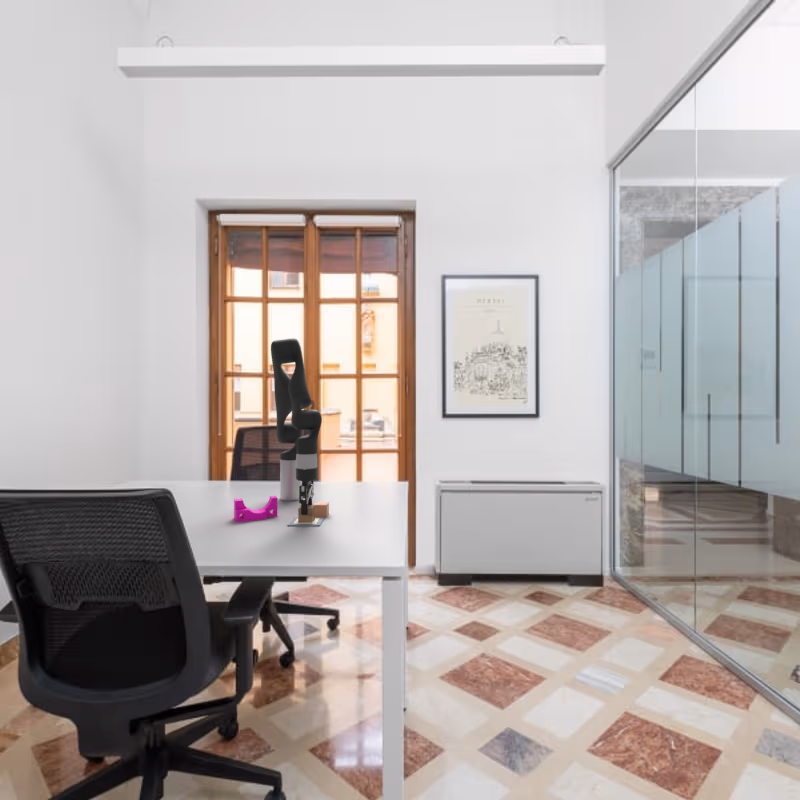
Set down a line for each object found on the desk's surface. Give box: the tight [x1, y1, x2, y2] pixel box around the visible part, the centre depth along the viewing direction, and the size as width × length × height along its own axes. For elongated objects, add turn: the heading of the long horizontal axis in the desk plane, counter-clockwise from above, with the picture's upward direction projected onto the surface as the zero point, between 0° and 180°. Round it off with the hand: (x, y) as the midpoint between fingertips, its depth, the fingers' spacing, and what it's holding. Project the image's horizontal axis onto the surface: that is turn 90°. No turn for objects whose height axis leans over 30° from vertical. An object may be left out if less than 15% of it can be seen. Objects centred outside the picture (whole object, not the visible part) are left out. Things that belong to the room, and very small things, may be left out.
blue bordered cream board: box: [287, 516, 326, 527], centre depth 188 cm, size 11×11×1 cm
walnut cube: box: [297, 504, 315, 523], centre depth 188 cm, size 5×5×5 cm
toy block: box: [233, 495, 278, 523], centre depth 194 cm, size 15×6×8 cm, turn 114°
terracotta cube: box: [313, 501, 330, 518], centre depth 198 cm, size 5×5×5 cm
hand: (306, 512), depth 188 cm, fingers open, 8 cm apart
